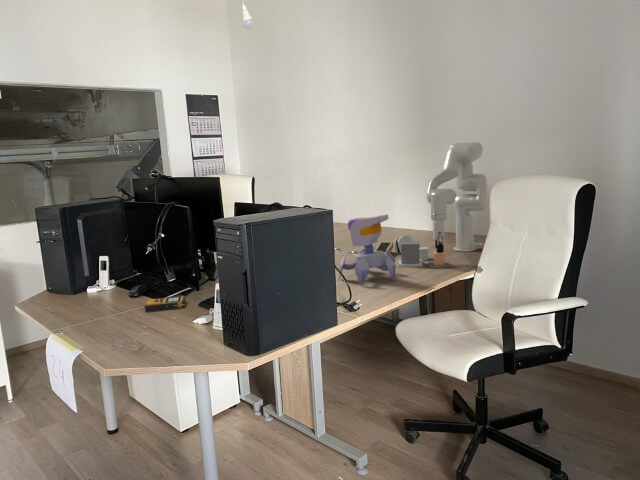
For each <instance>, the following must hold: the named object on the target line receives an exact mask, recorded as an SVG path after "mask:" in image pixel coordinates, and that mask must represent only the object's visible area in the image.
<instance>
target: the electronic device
mask: <svg viewBox="0 0 640 480" xmlns="http://www.w3.org/2000/svg"><path fill="white" fill-rule="evenodd" d="M186 298H187V297H186V296H172V297H164V298H153V299H148V300H147V301H146V302H145V304H144V309H145V311H146V312H151V311H157V310H158V311H159V310H168V309H170V310H171V309H178V308H185V307H186V304H187V299H186ZM185 300H186V301H185ZM182 304H185V305H182ZM174 305H177V306H174ZM167 306H168V307H167Z"/></svg>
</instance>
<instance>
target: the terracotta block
mask: <svg viewBox="0 0 640 480" xmlns="http://www.w3.org/2000/svg"><path fill="white" fill-rule="evenodd" d="M445 255H446V254H445V251H444V252H443V253H437V250H435V251H433V262H434V265H445V262H446V261H445Z"/></svg>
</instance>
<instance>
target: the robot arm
mask: <svg viewBox="0 0 640 480" xmlns="http://www.w3.org/2000/svg"><path fill="white" fill-rule="evenodd" d="M483 149H484V148H483V146H482V144H481V143H480V142H476V141H475V142H474V141H473V142H455V143H452V144H450V146H449V148H448V149H447V150H446V154H445V158H444V162H443V165H442V169H441V171H440V172H438V173H437V174H436V175H435V176H434V177H433V178H432V179H431V181H430V182H429V184H428V186H427V187H428V189H427V192H426V201H427V203H429V204H430V220H431V221H432V238H433V241H434V242H435V243H434V244H435V245H434V246H435V249H436V251H437V253H443V252H444V253H445V251H444V250H445V249H444V240H445V221H446V220H448V219H447V217H448V214H447V213H448V212H447V210H448V209H447V208H448V207H447V205H451V204H454V210H455V211H454V212H455V246H453V247H452V250H453V251H456V252H463V253H464V252H465V253H466V252H474V251H476V250H477V247H482V246H483V243H482V242H475V241H474V217H473V214H471V212H484V211H485V210H486V209H487V206H488V180H487V177H486V175H484V174H483V173H474V169H473V163H474V162H475V161H477V160H479V159H480V158H481V157H482V155H483ZM453 179H456V188H457V190H458V191H461V192H475V193H459V194H457V192H456V191H455V190H454V189H452V188H451V189H450V188H439V187H440V186H441V185H442V184H444V183H447V182H449V181H451V180H453Z"/></svg>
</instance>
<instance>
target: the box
mask: <svg viewBox="0 0 640 480" xmlns="http://www.w3.org/2000/svg"><path fill="white" fill-rule="evenodd" d="M393 248H394V241H379V242H378V245H377V246H376V247H375V249H374V251H383V252H384V255H385V252H386V250H387V251H388V252H389V253H391V252H392V250H393ZM385 259H386V255H385Z"/></svg>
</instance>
